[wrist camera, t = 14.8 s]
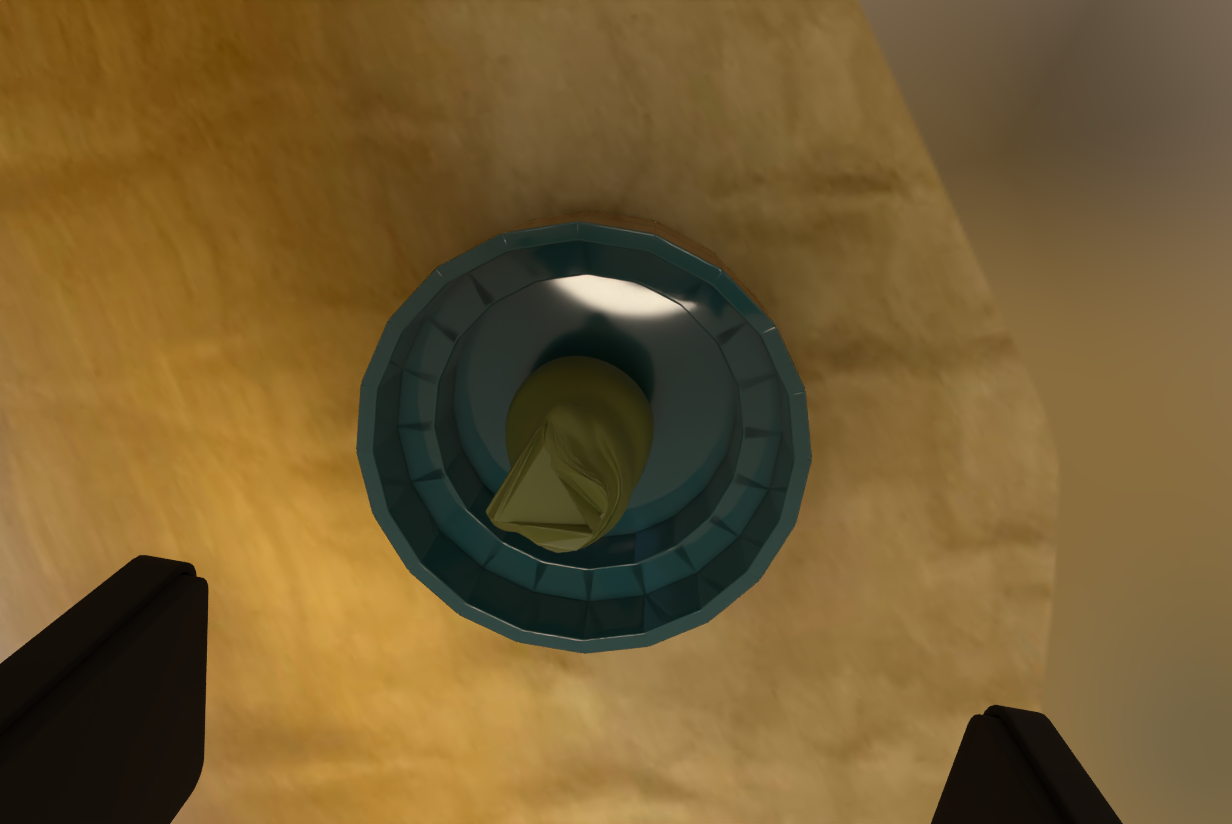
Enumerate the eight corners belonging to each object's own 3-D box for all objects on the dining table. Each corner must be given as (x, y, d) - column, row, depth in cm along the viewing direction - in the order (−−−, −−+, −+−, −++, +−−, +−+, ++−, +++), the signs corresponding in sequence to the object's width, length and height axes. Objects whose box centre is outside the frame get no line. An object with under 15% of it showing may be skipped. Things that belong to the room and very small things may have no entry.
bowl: (395, 540, 35) (344, 614, 30) (426, 181, 31) (373, 186, 25) (740, 598, 35) (756, 683, 30) (823, 247, 31) (860, 268, 25)
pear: (606, 496, 34) (585, 629, 24) (493, 432, 33) (426, 542, 24) (678, 384, 32) (686, 479, 23) (561, 315, 32) (518, 383, 22)
